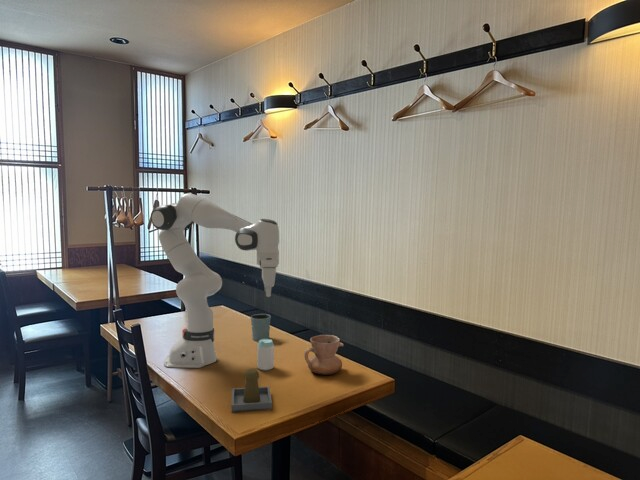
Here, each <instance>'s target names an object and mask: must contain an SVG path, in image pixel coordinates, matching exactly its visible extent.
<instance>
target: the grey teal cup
mask: <svg viewBox="0 0 640 480" xmlns="http://www.w3.org/2000/svg"><path fill="white" fill-rule="evenodd" d="M271 318H272V316H271V315H270V314H267V313H258V314H257V313H256V314H252V315H251V316H250V322H251V324H250V325H251V332H252V333H251V334H252V340H253V341H255V342H259V340H261V339H270V328H271Z"/></svg>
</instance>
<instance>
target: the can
mask: <svg viewBox="0 0 640 480" xmlns="http://www.w3.org/2000/svg"><path fill="white" fill-rule="evenodd" d="M256 347H257V348H256V350H257V352H256V353H257V355H256V356H257V357H256V363H257V365H256V367H257V369H259V370H260V371H270V370H272V369H273V368H274V367H275V365H274V364H275V344H274V342H273V339H270V338H269V339H261V340H259V341H258V343H257V346H256Z"/></svg>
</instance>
